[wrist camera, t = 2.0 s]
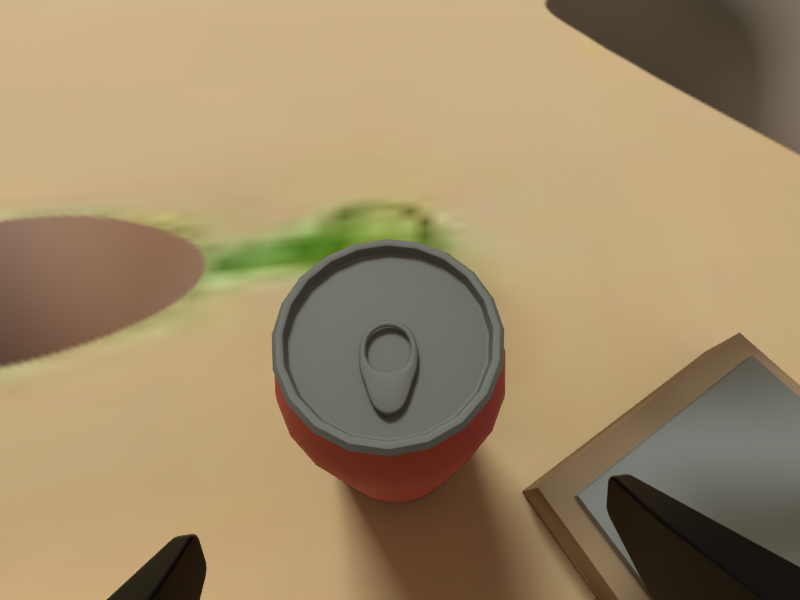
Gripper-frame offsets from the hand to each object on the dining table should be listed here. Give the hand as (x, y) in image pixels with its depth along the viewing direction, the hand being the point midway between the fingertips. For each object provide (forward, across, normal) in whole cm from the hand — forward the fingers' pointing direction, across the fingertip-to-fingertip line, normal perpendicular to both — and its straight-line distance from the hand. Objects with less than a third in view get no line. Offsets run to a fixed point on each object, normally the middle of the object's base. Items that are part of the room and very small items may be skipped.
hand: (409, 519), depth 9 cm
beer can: (+10, 0, +5) cm, 12 cm away
